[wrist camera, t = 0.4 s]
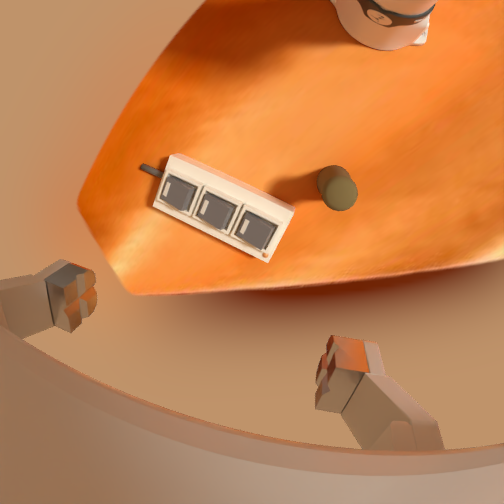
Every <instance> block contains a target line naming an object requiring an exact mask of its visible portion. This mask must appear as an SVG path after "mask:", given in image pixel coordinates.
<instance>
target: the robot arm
mask: <svg viewBox="0 0 504 504" xmlns="http://www.w3.org/2000/svg"><path fill="white" fill-rule="evenodd" d="M330 1H331V2H332V4H333V5H334V6H335V8H336V10H337V14H338V17H339V20H340V22H341V24H342V26H343V27H344V29H345V30H346V31H347V32H348V33H349V34H350V35H351V36H352V37H353V38H355V39H356V40H357V41H359V42H360V43H362V44H364V45H366V46H369V47H371V48H374V49H379V50H396V49H400V48H402V47H405V46H407V45H418V46H419V45H423V44H424V43H425V42H426V38H427V32H428V27H429V17H430V13H431V12H432V10H433V8H434V6H435V3H436V2H437V1H438V0H330ZM95 283H96V277H95V273H94V272H93V271H92V270H90V269H87V268H85V267H82V266H79V265H77V264H74V263H71V262H69V261H66V260H58V261H56V262H55V263H53V264H51V265H50V266H48V267H46V268H45V269H43V270H42V271H40V272H38V273H37V274H35V275H34V276H33V275H26V276H20V277H15V278H9V279H4V280H0V504H504V443H501V444H495V445H488V446H480V447H472V448H463V449H462V448H461V449H449V450H445V448H444V445H443V441H442V437H441V434H440V430H439V427H438V423H437V421H436V420H435V419H434V418H433V417H431V415H429V413H428V412H426V411H425V410H424V409H423V408H422V407H421V406H420V405H419V404H418V403H417V402H416V401H415V400H414V399H413V398H412V397H411V396H410V395H409V394H408V393H407V392H406V391H405V390H404V389H403V388H402V387H401V386H399V385H398V383H396V382H395V381H394V380H393V379H392V378H391V377H390V376H386V374H385V370H384V366H383V363H382V359H381V355H380V351H379V348H378V344H377V343H376V342H372V341H366V340H357V339H352V338H346V337H340V336H335V335H331V336H330V338H329V339H328V342H327V345H326V353H325V354H324V355H322V356H321V359H320V362H319V365H318V369H317V372H316V384H317V386H318V389H317V391H316V393H315V409H318V410H323V411H329V412H334V413H340V414H341V416H342V418H343V419H344V421H345V422H346V424H347V425H348V427H349V429H350V430H351V432H352V434H353V435H354V437H355V438H356V440H357V442H358V443H359V445H360V446H361V448H362V449H352V448H341V447H331V446H323V445H316V444H309V443H302V442H296V441H290V440H284V439H278V438H273V437H268V436H263V435H259V434H254V433H249V432H245V431H241V430H237V429H233V428H229V427H225V426H221V425H218V424H214V423H211V422H207V421H204V420H200V419H197V418H194V417H191V416H188V415H185V414H182V413H179V412H176V411H173V410H170V409H167V408H164V407H161V406H158V405H156V404H153V403H150V402H148V401H145V400H143V399H140V398H137V397H135V396H132V395H130V394H127V393H125V392H123V391H120V390H118V389H116V388H113V387H111V386H109V385H107V384H104V383H102V382H100V381H98V380H96V379H94V378H92V377H90V376H87V375H85V374H83V373H81V372H79V371H77V370H75V369H73V368H71V367H70V366H67V365H66V364H64V363H62V362H60V361H58V360H56V359H54V358H53V357H51V356H49V355H47V354H46V353H44V352H42V351H40V350H39V349H37V348H35V347H34V346H32V345H30V344H29V343H27V342H26V341H24V340H22V339H23V338H26V337H28V336H31V335H33V334H36V333H39V332H41V331H44V330H46V329H48V328H51V327H53V326H56V327H58V328H61V329H63V330H65V331H67V332H70V333H72V332H73V331H74V330H75V329H76V328H77V327H78V326H79V325H80V324H81V323H82V318H86V317H89V316H90V315H91V314H92V313H93V312H94V310H95V307H96V305H97V293H96V291H95V289H94V287H93V286H94V284H95Z"/></svg>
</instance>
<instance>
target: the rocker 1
mask: <svg viewBox="0 0 504 504" xmlns="http://www.w3.org/2000/svg"><path fill="white" fill-rule="evenodd" d="M194 189H195V188H193V187H192V186H190V185H188V184H186V183H185V182H183V181H181V180H180V179H178V178H176V177H174V176H169V177H167V180H166V183H165V186H164V189H163V192H162V195H161V199H163V200H164V201H166V202H168V203H169V204H171V205H172V206H174V207H175V208H177V209H178V210H180V211H184V210H187V207H188V205H189V202H190V199H191V197H192V194H193V192H194Z"/></svg>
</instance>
